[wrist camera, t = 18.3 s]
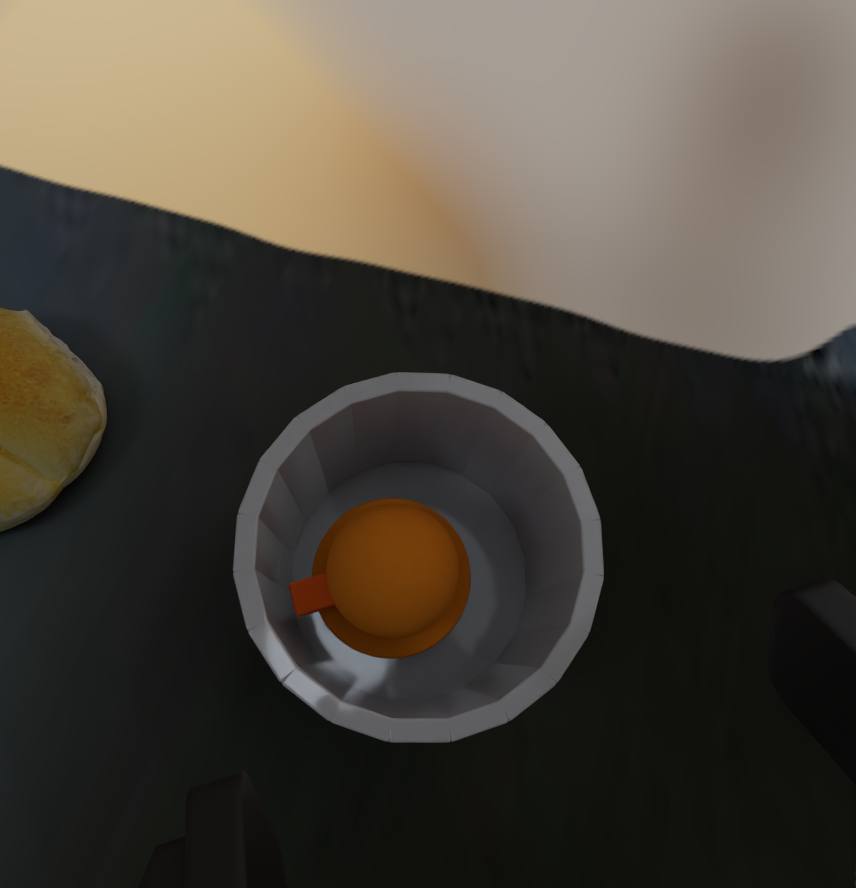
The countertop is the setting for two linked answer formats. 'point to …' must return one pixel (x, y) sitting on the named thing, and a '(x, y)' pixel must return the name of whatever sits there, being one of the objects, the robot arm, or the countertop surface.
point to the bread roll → (42, 417)
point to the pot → (474, 519)
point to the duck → (387, 579)
